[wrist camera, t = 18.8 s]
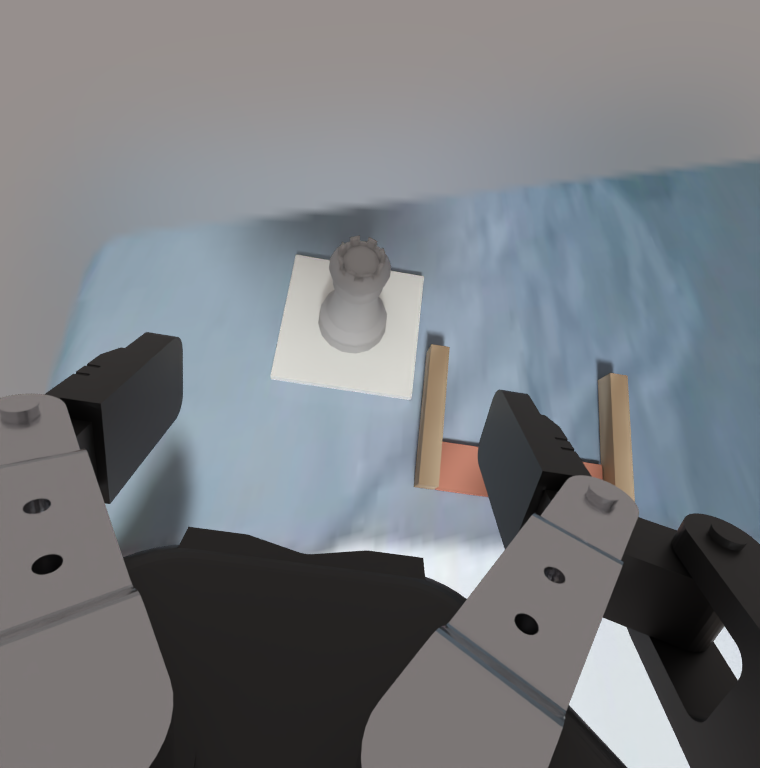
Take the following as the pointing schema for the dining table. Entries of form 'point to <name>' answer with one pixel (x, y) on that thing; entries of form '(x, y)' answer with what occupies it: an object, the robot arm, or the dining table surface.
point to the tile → (341, 369)
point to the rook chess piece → (355, 297)
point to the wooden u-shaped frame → (460, 462)
